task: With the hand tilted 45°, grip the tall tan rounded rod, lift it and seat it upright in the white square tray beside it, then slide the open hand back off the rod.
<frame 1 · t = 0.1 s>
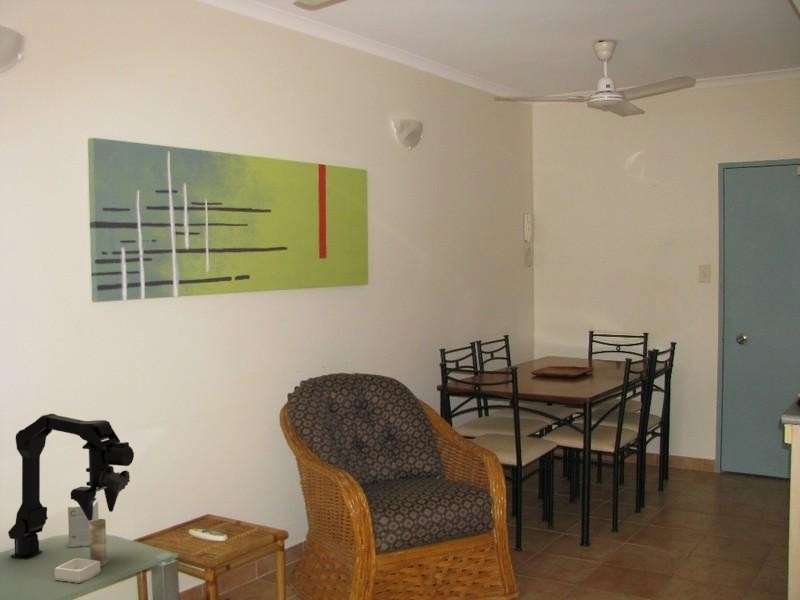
hand: (100, 515, 242), 15 cm above the table, tool pointing down, fingers open, 9 cm apart
tan rounded rod: (98, 564, 243), on the table
white square tray: (77, 576, 233), on the table
small box: (84, 544, 261), on the table
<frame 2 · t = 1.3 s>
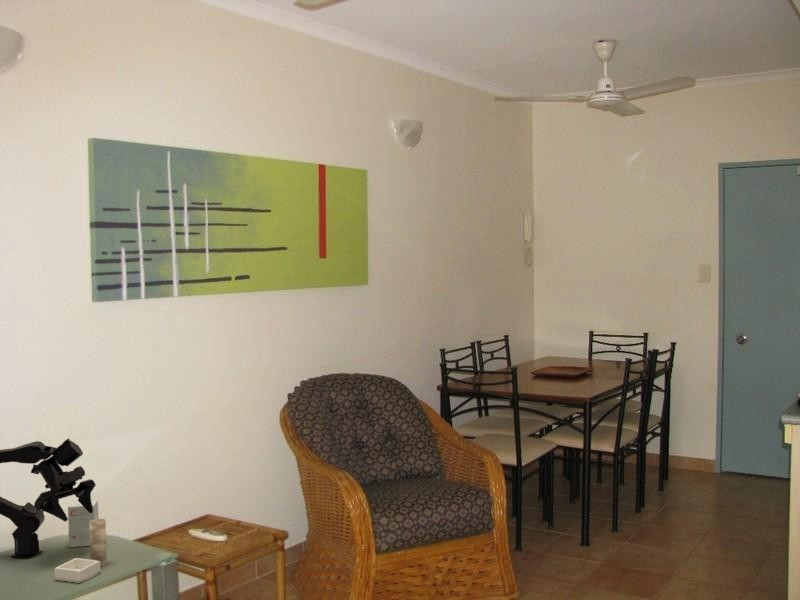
hand: (79, 516, 246), 13 cm above the table, tool tilted 45°, fingers open, 9 cm apart
nothing on the table moved.
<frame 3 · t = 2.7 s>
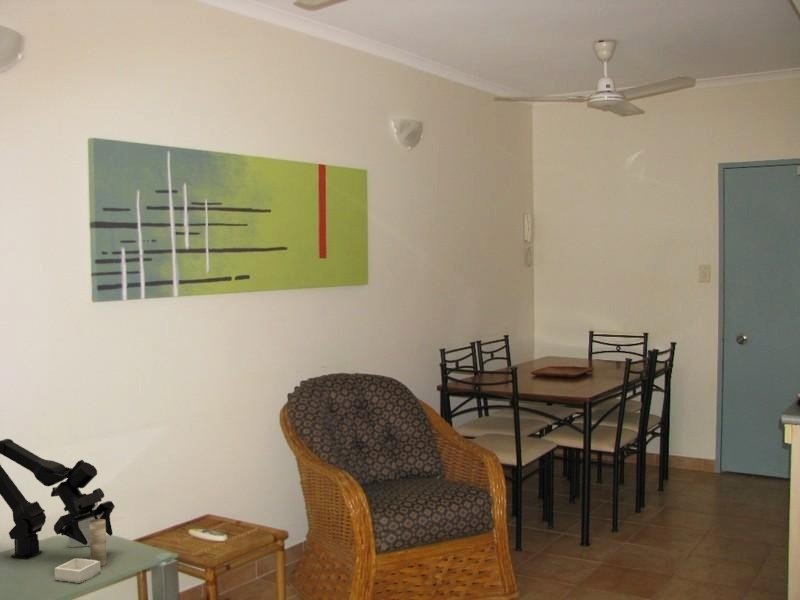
hand: (99, 539, 242), 8 cm above the table, tool tilted 45°, fingers open, 9 cm apart
nothing on the table moved.
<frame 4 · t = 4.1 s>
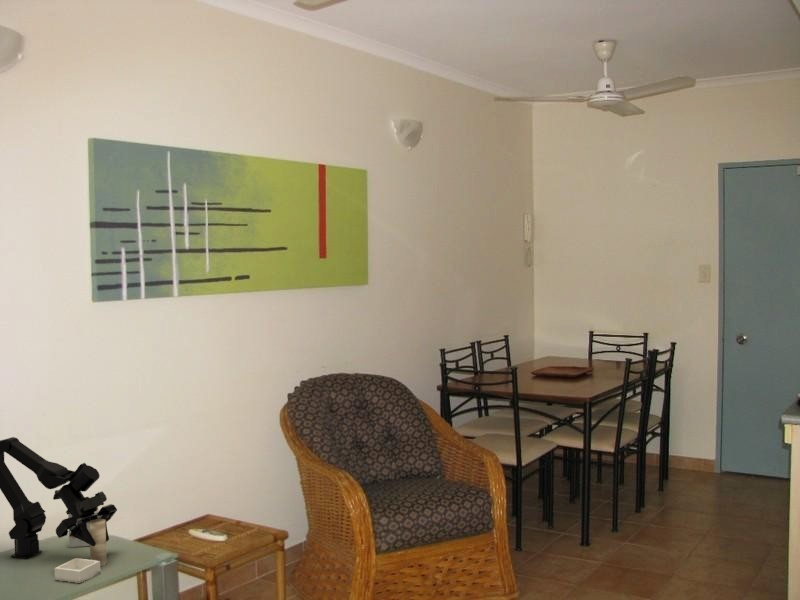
hand: (101, 543, 242), 7 cm above the table, tool tilted 45°, fingers closed on tan rounded rod, 4 cm apart
tan rounded rod: (98, 564, 243), on the table, touching gripper
everything else where it was.
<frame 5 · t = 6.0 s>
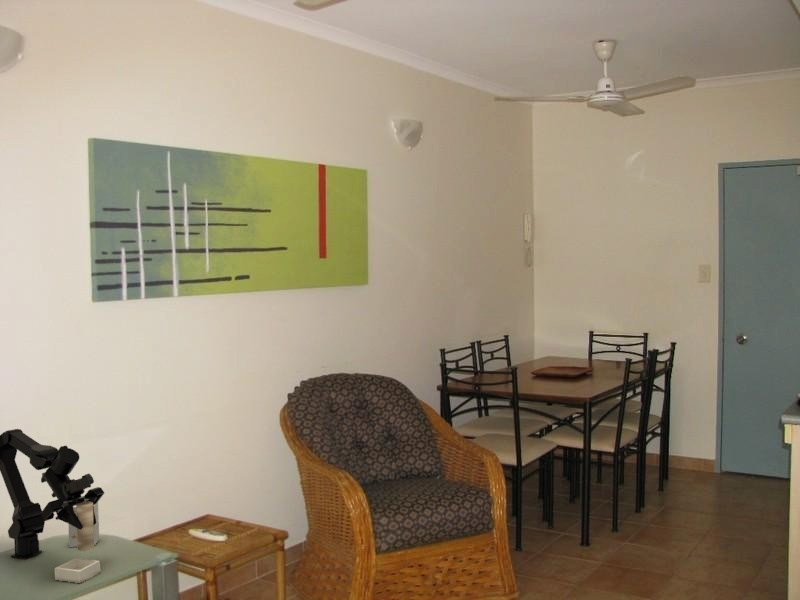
hand: (88, 526, 235), 14 cm above the table, tool tilted 45°, fingers closed on tan rounded rod, 4 cm apart
tan rounded rod: (85, 548, 236), point 7 cm above the table, touching gripper
everything else where it was.
when the fingers open (10 cm above the table, at t = 7.9 s): tan rounded rod drops 3 cm, resting on white square tray.
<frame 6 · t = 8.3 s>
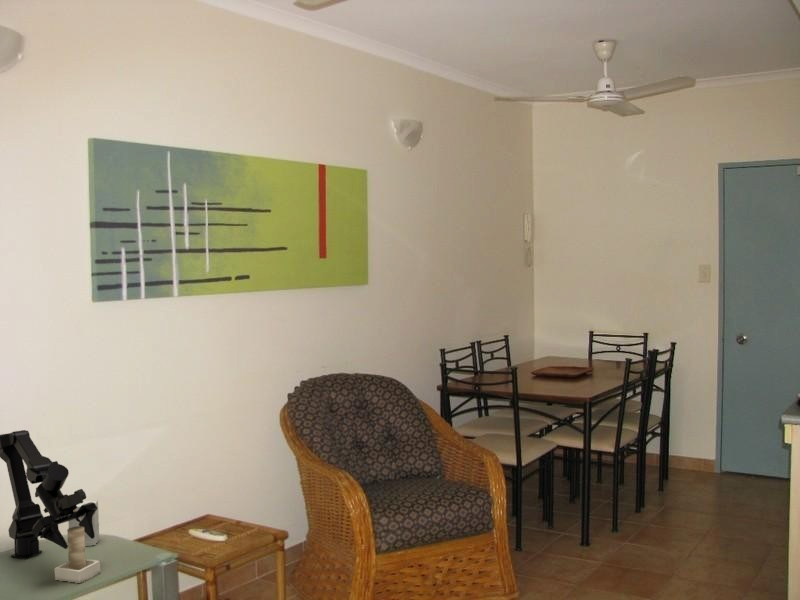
hand: (80, 542, 232), 10 cm above the table, tool tilted 45°, fingers open, 9 cm apart
tan rounded rod: (77, 573, 233), point 1 cm above the table, touching white square tray
everything else where it was.
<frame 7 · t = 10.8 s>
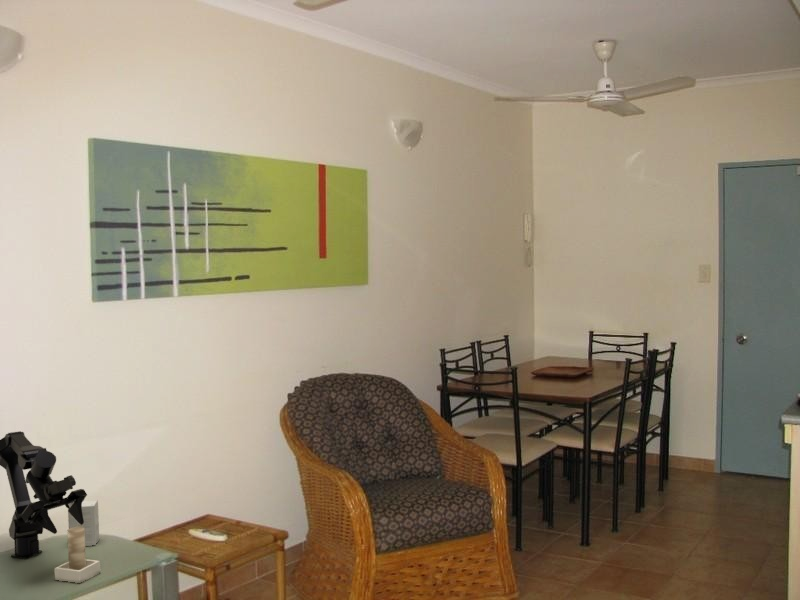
hand: (69, 528, 234), 14 cm above the table, tool tilted 45°, fingers open, 9 cm apart
nothing on the table moved.
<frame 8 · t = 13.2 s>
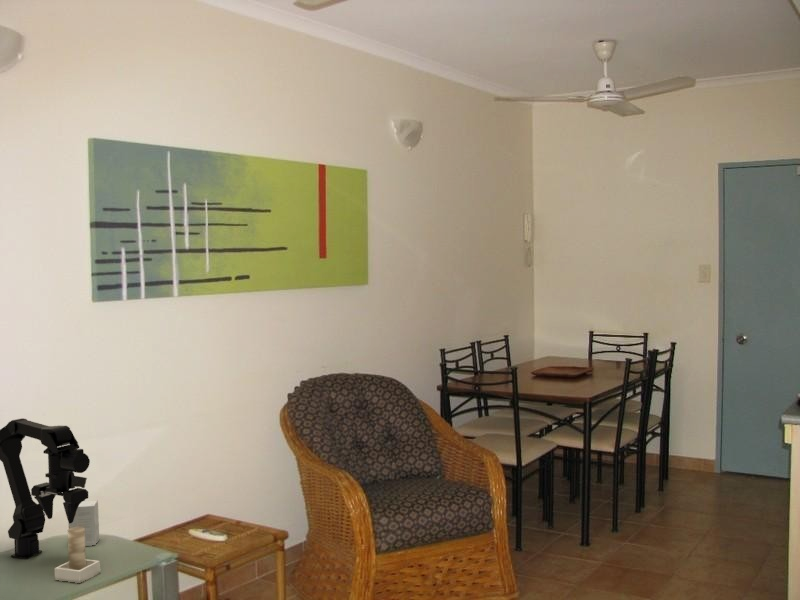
hand: (60, 520, 243), 13 cm above the table, tool pointing down, fingers open, 9 cm apart
nothing on the table moved.
at the end: tan rounded rod 0.1 cm off-centre on the white square tray, point 0.8 cm above the white square tray's base; tan rounded rod tilted 0°; the gripper is holding nothing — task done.
